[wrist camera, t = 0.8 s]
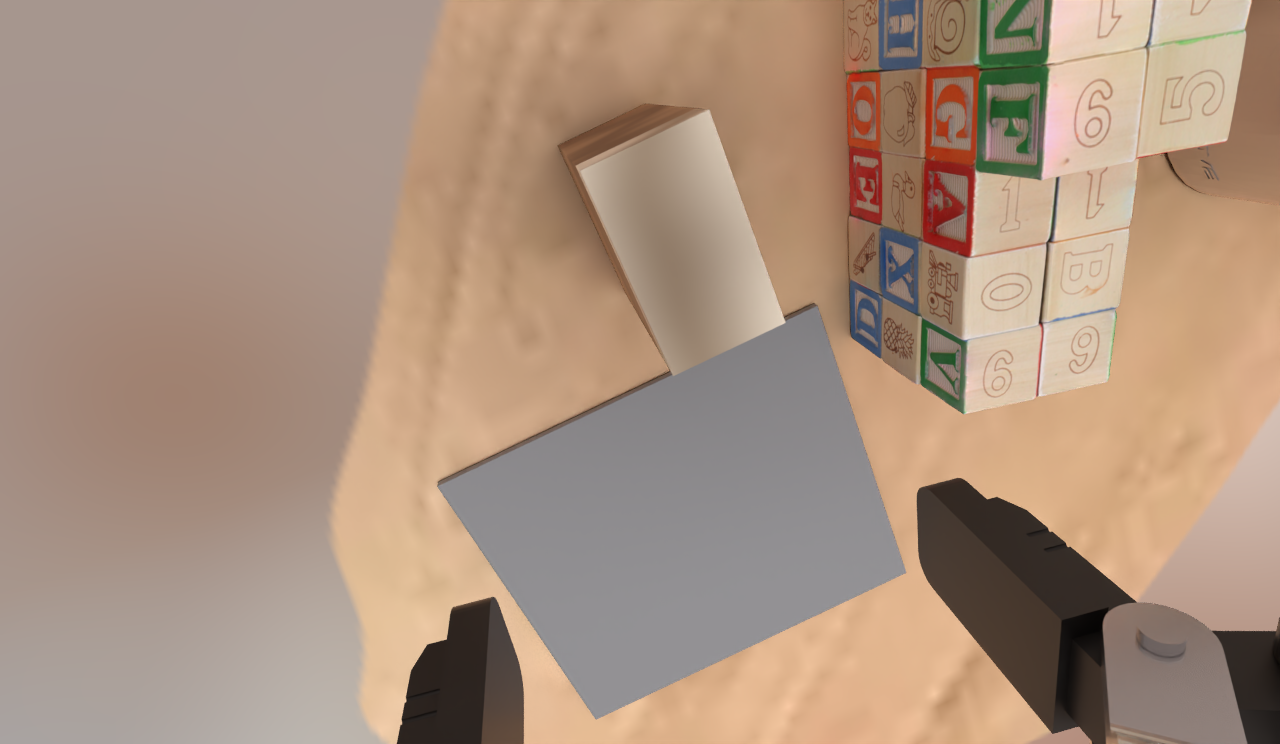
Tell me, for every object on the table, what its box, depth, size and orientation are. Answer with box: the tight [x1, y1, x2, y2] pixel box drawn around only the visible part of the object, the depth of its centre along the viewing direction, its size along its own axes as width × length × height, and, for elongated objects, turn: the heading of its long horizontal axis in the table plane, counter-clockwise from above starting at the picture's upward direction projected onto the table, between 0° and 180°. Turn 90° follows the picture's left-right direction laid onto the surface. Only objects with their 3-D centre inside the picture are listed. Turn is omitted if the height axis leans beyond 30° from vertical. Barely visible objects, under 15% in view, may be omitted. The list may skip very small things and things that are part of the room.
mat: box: [437, 304, 906, 719], centre depth 37 cm, size 20×18×1 cm
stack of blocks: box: [843, 0, 1252, 414], centre depth 25 cm, size 21×6×12 cm, turn 8°
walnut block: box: [558, 104, 786, 376], centre depth 25 cm, size 4×7×10 cm, turn 23°
